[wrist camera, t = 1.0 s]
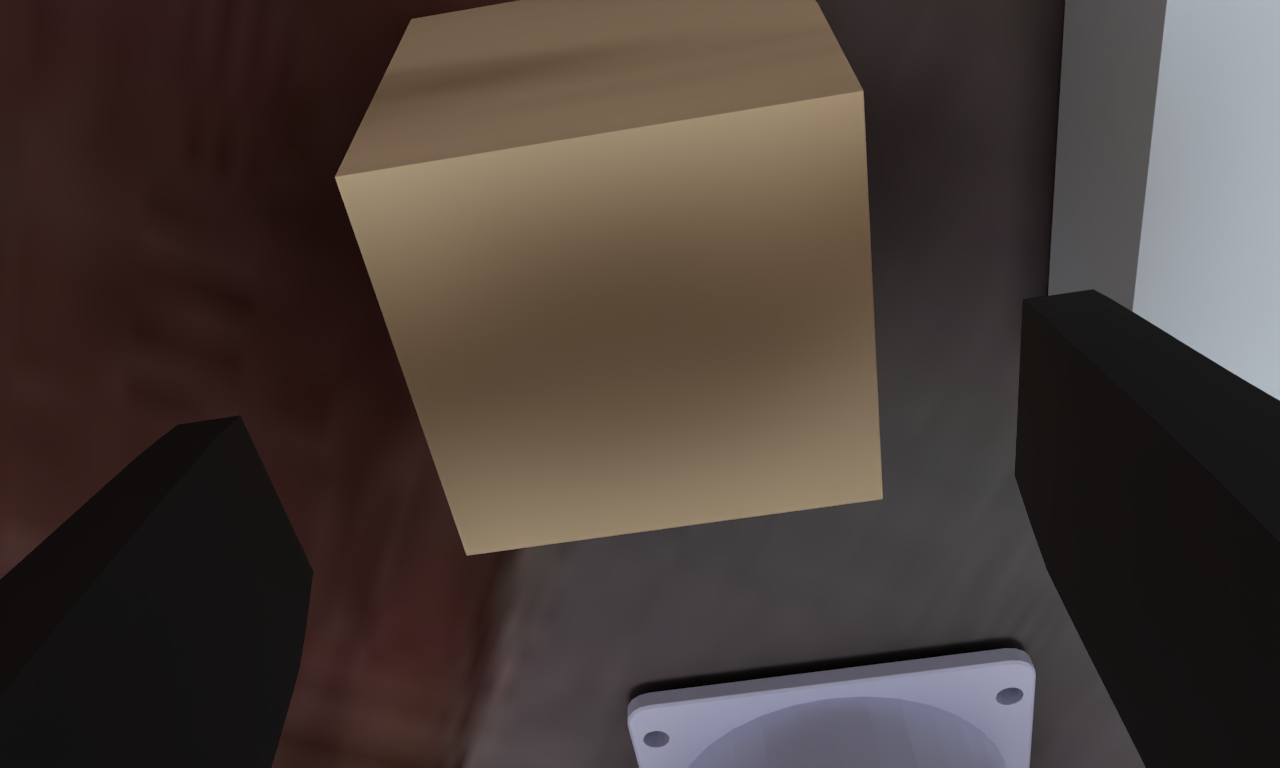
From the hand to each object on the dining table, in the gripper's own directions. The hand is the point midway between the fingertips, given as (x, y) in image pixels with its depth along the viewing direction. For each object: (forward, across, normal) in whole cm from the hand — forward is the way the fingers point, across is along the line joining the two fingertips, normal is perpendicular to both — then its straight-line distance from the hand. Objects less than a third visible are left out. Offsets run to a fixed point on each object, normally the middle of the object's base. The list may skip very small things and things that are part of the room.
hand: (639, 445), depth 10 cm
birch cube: (+7, 0, 0) cm, 7 cm away
